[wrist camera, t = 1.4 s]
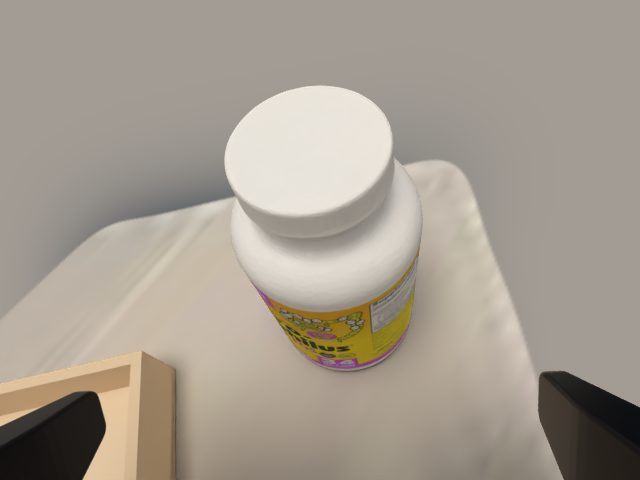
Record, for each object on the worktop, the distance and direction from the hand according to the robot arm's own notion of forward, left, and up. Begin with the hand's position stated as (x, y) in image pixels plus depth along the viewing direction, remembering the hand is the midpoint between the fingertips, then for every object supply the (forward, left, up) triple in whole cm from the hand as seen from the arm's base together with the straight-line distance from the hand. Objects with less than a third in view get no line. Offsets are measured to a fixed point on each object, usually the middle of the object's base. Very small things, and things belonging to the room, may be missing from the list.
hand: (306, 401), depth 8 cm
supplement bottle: (+6, -1, -13) cm, 14 cm away
